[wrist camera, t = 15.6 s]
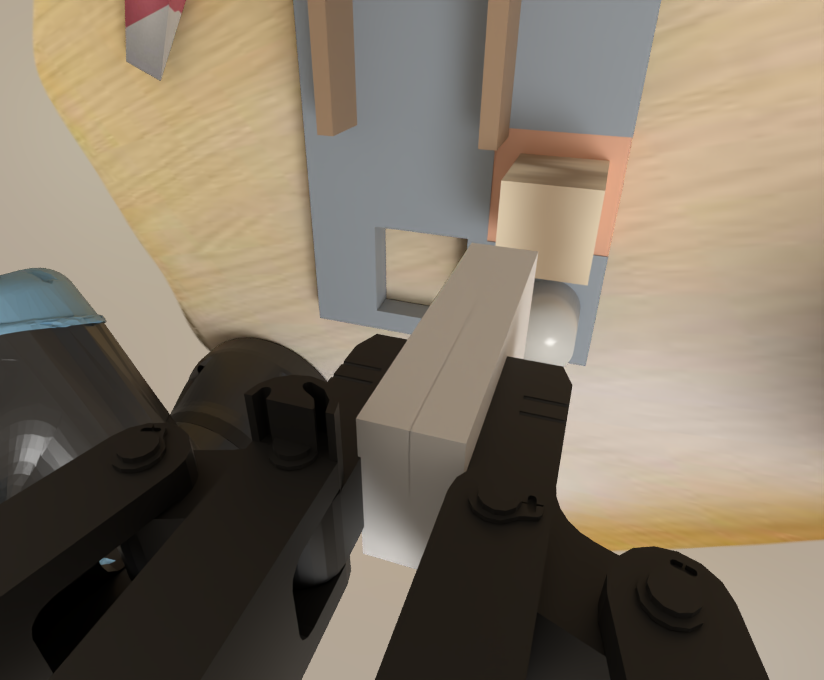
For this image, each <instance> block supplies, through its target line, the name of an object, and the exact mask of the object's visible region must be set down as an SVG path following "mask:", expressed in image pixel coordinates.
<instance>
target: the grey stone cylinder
mask: <svg viewBox="0 0 824 680" xmlns="http://www.w3.org/2000/svg"><path fill="white" fill-rule="evenodd" d="M580 310H581V306H580V301H579V298H578V296H577V294H576V293H575V291H574V290H573V289H572V288H571V287H569V286H568V285H566V284H565V283H562V282H559V281H552V280H540V281H537V282H534V287H533V294H532V302H531V309H530V316H529V324H528V331H527V338H526V346H525V353H524V358H523V359H525V360H531V361H536V362H541V363H547V364H552V365H558V366H563V367H564V366H566V365H567V363H568V362H569V361H570V359H571V357H572V355H573V352H574V346H575V340H576V334H577V328H578V322H579V317H580Z"/></svg>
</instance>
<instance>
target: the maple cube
mask: <svg viewBox="0 0 824 680" xmlns="http://www.w3.org/2000/svg"><path fill="white" fill-rule="evenodd" d="M609 163H610V161H607V160H595V159H583V158H571V157H559V156H547V155H535V154H523V153H521V154H520V155H519V157H518V158H517V159H516V161H515V162H514V164H513V165H512V166H511V168H510V169H509V170H508V172H507V173H506V175H505V176H504V177H503V179H502V180H501V189H500V200H499V212H498V223H497V234H496V245H495V246H501V247H508V248H516V249H523V250H531V251H538V258H537V265H536V272H535V278H538V279H545V280H552V281H559V282H566V283H573V284H580V285H587V286H588V281H589V275H590V270H591V265H592V259H593V254H594V249H595V243H596V238H597V233H598V227H599V222H600V217H601V211H602V206H603V200H604V195H605V190H606V183H607V176H608V170H609Z"/></svg>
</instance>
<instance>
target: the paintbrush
mask: <svg viewBox="0 0 824 680" xmlns="http://www.w3.org/2000/svg"><path fill="white" fill-rule="evenodd" d="M185 1H186V0H125V26H126V62H128V63H130V64H131V65H133V66H135V67H137V68H138V69H140V70H142V71H144V72H145V73H147V74H149V75H151V76H153V77H154V78H156V79H158V80H160V81H161V78H162V75H163V72H164V69H165V65H166V62H167V59H168V56H169V53H170V49H171V46H172V43H173V40H174V37H175V33H176V30H177V27H178V24H179V21H180V17H181V14H182V11H183V8H184V4H185Z"/></svg>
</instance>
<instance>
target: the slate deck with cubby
mask: <svg viewBox="0 0 824 680" xmlns="http://www.w3.org/2000/svg"><path fill="white" fill-rule="evenodd" d="M660 3H661V0H293V5H294V16H295V28H296V40H297V52H298V63H299V75H300V87H301V99H302V110H303V122H304V134H305V146H306V157H307V169H308V181H309V193H310V205H311V216H312V228H313V240H314V252H315V263H316V275H317V287H318V299H319V310H320V318H324V319H329V320H335V321H340V322H346V323H351V324H357V325H362V326H368V327H373V328H379V329H384V330H390V331H395V332H401V333H406V334H412V333H413V331H414V329H415V328H416V326H417V325H418V323H419V322H420V320H421V319H422V317H423V316H424V314H425V313H426V311H427V310H428V308H429V307H430V306H426V305H420V304H414V303H408V302H402V301H396V300H390V299H386V241H385V228H389V229H397V230H404V231H412V232H420V233H427V234H435V235H442V236H450V237H458V238H465V239H468V244H467V249H468V247H469V246H470V244H471V243H478V244H486V245H493V246H495V245H496V234H497V223H498V212H499V200H500V189H501V180H502V179H503V177H504V176H505V175H506V173H507V172H508V170H509V169H510V168H511V166H512V165H513V164H514V162H515V161H516V159H517V158H518V157H519V155H520V154H521V153H523V154H535V155H547V156H559V157H571V158H583V159H595V160H607V161H610V163H609V170H608V176H607V183H606V190H605V195H604V200H603V206H602V211H601V217H600V222H599V227H598V233H597V238H596V243H595V249H594V254H593V259H592V265H591V270H590V275H589V281H588V286H587V285H580V284H573V283H566V282H562V283H565V284H566V285H568V286H569V287H571V288H572V289H573V290H574V291H575V293H576V294H577V296H578V298H579V301H580V306H581V310H580V317H579V322H578V328H577V334H576V340H575V346H574V352H573V355H572V357H571V359H570V361H569V362H568V363H571V364H576V365H582V366H586V361H587V357H588V352H589V347H590V342H591V337H592V332H593V328H594V323H595V318H596V313H597V308H598V303H599V299H600V294H601V289H602V284H603V279H604V274H605V270H606V265H607V260H608V255H609V250H610V245H611V240H612V235H613V231H614V226H615V221H616V216H617V211H618V206H619V202H620V197H621V192H622V187H623V182H624V177H625V172H626V168H627V163H628V158H629V153H630V148H631V143H632V139H633V134H634V129H635V124H636V120H637V115H638V110H639V105H640V100H641V95H642V91H643V86H644V81H645V76H646V71H647V66H648V62H649V57H650V52H651V47H652V42H653V37H654V32H655V28H656V23H657V18H658V13H659V8H660ZM540 280H545V279H538V278H535V280H534V282H537V281H540Z"/></svg>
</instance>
